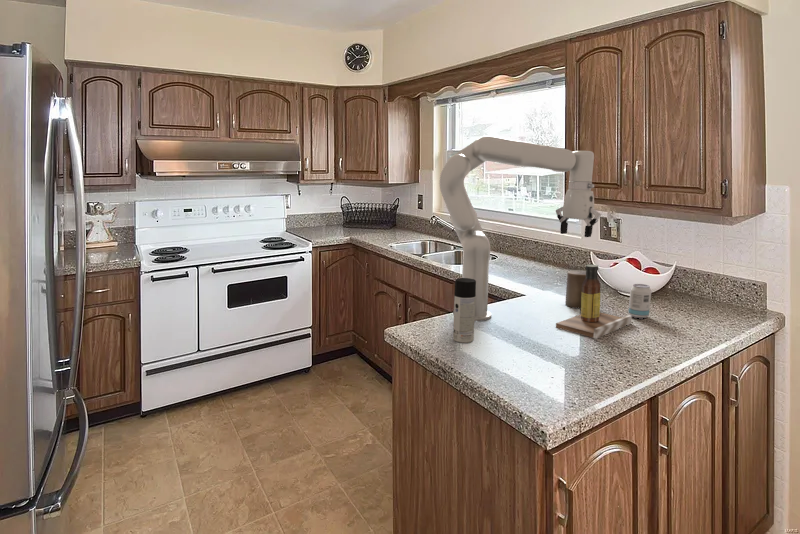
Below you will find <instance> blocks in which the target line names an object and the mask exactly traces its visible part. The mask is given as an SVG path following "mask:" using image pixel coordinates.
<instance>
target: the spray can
mask: <svg viewBox="0 0 800 534" xmlns="http://www.w3.org/2000/svg"><path fill="white" fill-rule="evenodd" d="M475 296H476V280H474V279H470V278H462V277H458V278H456V279H455V281H454V297H453V301H454V302H453V311H454V314H453V330H452V331H453V332H452V335H453V337H452V338H453V341H454V342H456V343H459V344H468V343H469V342H470V343H473V341H474V339H475V322H476V321H475ZM470 343H469V344H470Z"/></svg>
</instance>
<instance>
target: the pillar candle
mask: <svg viewBox="0 0 800 534" xmlns="http://www.w3.org/2000/svg"><path fill="white" fill-rule="evenodd" d="M566 274H567V276H566V286H565V287H566V290H565V302H564V303H565V304H564V305H565V306H566V307H568V308H569V307H570V308H575V309H581V295H582V283H583V282H584V280H585V278H586V270H582V269H579V270H576V269H575V270H574V269H573V270H568V271H567V272H566Z"/></svg>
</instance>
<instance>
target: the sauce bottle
mask: <svg viewBox="0 0 800 534" xmlns="http://www.w3.org/2000/svg"><path fill="white" fill-rule="evenodd" d="M598 270H599V266H598V265H597V264H586V265H585V271H586V278H585V280H584V282H583V283H582V295H581V308H580V315H581V319H582V320H583V321H586V322H597V321H599V316H600V312H601V283H600V280H599V278H598Z"/></svg>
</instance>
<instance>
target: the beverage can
mask: <svg viewBox="0 0 800 534" xmlns="http://www.w3.org/2000/svg"><path fill="white" fill-rule="evenodd" d="M650 287H651V286H650V285H648V284H643V283H634V284H633V285H632V287H631V288H630V293H629V301H628V303H629V304H628V312H627V313H628V315H631V316H632V318H633V317H634V319H636V318H639V320H644V319H643V318H645V319H646V318H648V317H649V316H650V310H651V309H650V308H651V301H652V300H651V298H652V289H651V288H650Z"/></svg>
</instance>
